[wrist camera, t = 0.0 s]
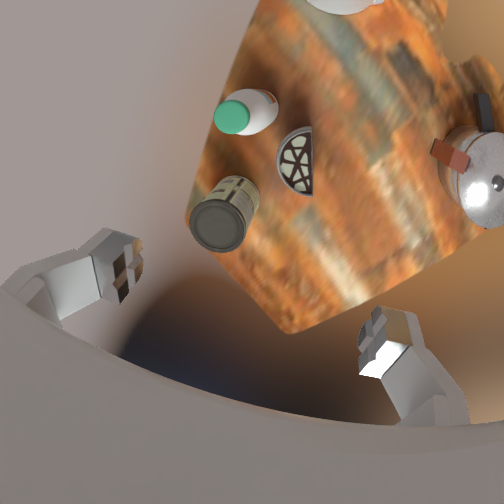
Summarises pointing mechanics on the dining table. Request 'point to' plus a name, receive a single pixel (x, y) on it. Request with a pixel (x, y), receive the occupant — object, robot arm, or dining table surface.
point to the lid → (478, 176)
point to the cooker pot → (465, 141)
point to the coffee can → (225, 214)
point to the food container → (297, 161)
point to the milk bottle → (246, 112)
